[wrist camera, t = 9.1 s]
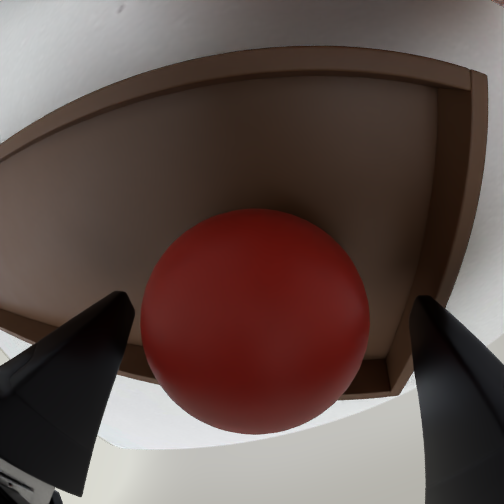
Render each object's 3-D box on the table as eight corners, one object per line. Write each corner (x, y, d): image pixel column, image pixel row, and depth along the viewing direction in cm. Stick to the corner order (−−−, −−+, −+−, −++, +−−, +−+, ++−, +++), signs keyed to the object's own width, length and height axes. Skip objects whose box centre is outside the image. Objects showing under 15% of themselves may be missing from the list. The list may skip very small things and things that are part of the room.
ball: (390, 272, 9) (419, 436, 4) (270, 338, 12) (237, 464, 7) (274, 136, 7) (180, 244, 3) (165, 248, 11) (73, 368, 6)
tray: (442, 73, 6) (488, 75, 3) (391, 354, 13) (399, 395, 10) (-61, 202, 13) (-76, 214, 11) (-16, 300, 20) (-28, 314, 18)
